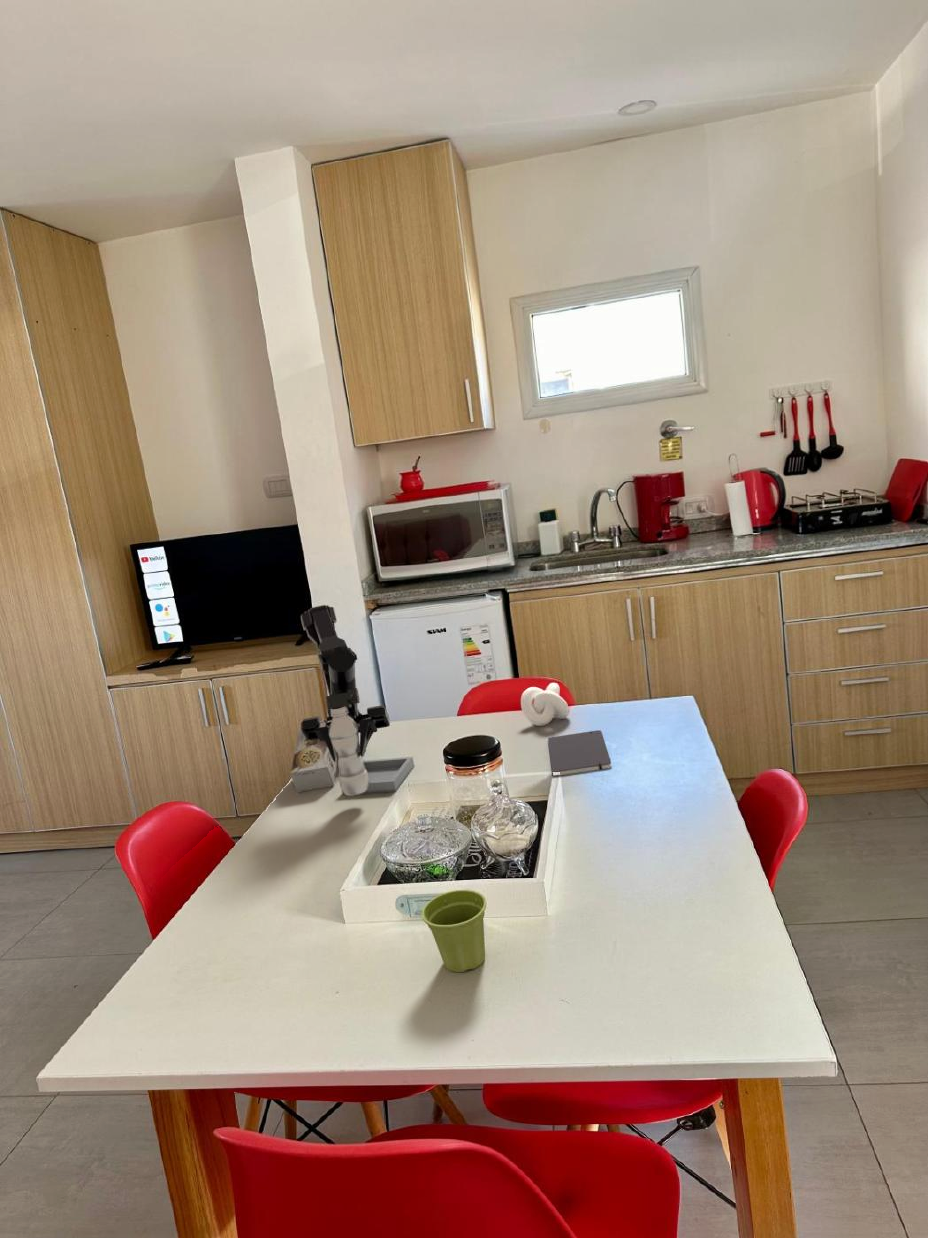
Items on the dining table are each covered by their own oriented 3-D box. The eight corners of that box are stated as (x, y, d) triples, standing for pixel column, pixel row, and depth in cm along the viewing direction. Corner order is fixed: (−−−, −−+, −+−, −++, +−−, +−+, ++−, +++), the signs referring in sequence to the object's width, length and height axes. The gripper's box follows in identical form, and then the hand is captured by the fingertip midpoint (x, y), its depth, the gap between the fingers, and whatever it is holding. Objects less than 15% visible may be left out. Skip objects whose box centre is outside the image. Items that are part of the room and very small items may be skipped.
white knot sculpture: (582, 714, 220) (577, 681, 218) (554, 731, 211) (548, 697, 210) (547, 710, 228) (542, 678, 226) (519, 726, 219) (513, 693, 218)
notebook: (548, 743, 205) (553, 778, 184) (547, 737, 205) (552, 772, 184) (601, 735, 204) (612, 770, 183) (600, 729, 204) (611, 763, 183)
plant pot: (475, 986, 118) (464, 930, 117) (420, 974, 124) (408, 920, 122) (508, 947, 126) (498, 894, 124) (454, 937, 131) (444, 886, 129)
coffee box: (334, 787, 202) (341, 741, 215) (327, 767, 198) (334, 721, 212) (297, 793, 202) (306, 747, 216) (289, 773, 199) (298, 727, 212)
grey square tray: (364, 770, 208) (362, 760, 208) (414, 766, 205) (412, 756, 204) (342, 795, 195) (340, 785, 195) (396, 791, 192) (393, 781, 191)
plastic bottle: (376, 785, 189) (358, 700, 185) (363, 799, 183) (344, 711, 179) (350, 786, 192) (332, 701, 187) (336, 799, 185) (317, 712, 181)
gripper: (293, 685, 186) (295, 750, 178) (377, 670, 186) (383, 735, 177) (306, 707, 196) (309, 771, 187) (387, 693, 195) (393, 756, 187)
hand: (348, 758), depth 184 cm, fingers closed on plastic bottle, 6 cm apart
